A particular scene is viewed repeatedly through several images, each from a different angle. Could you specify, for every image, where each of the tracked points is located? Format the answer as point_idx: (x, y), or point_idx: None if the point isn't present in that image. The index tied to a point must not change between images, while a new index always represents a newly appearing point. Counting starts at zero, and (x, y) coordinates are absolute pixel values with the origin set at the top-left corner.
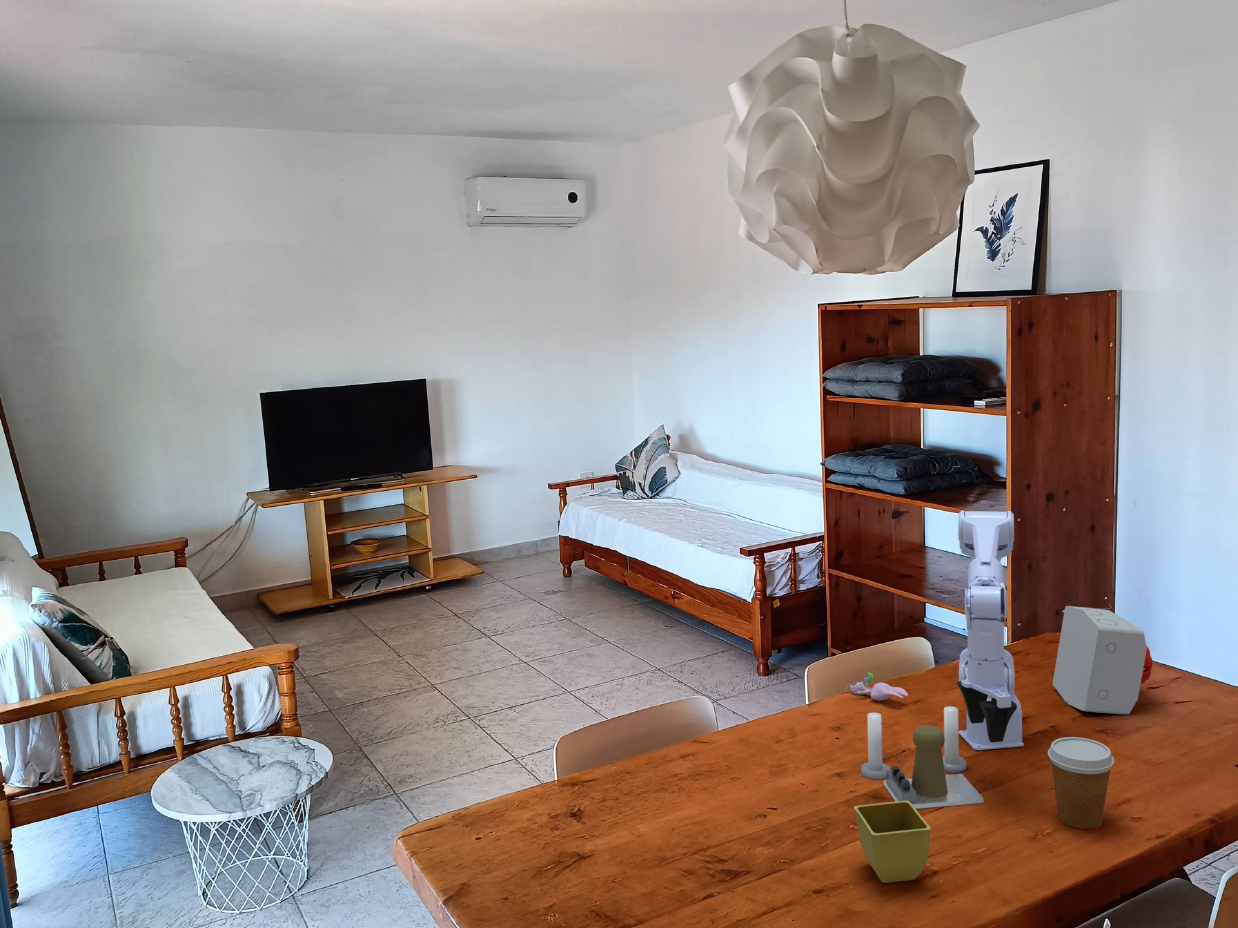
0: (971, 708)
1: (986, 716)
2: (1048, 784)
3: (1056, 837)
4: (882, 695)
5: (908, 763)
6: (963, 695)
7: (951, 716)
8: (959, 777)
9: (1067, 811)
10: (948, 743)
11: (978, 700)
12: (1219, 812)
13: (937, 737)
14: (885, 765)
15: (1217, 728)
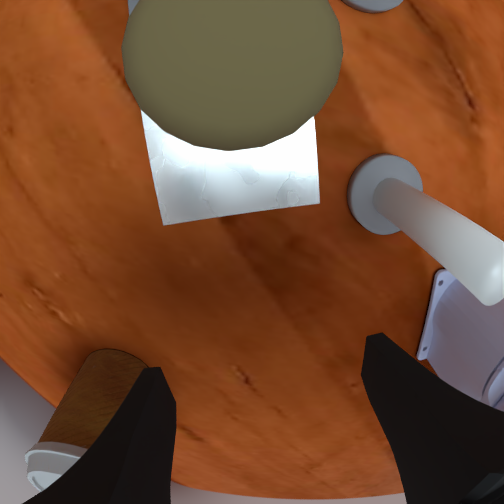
0: (400, 393)
1: (83, 476)
2: (259, 369)
3: (44, 321)
4: None
5: (413, 82)
6: (474, 413)
7: (469, 262)
8: (296, 190)
9: (80, 372)
10: (410, 204)
11: (410, 448)
12: (175, 481)
13: (131, 88)
14: (383, 3)
15: (366, 493)
